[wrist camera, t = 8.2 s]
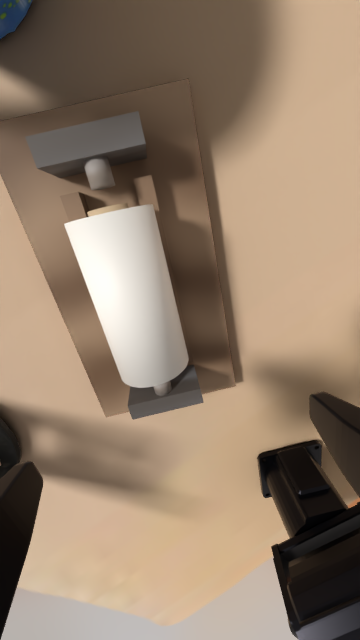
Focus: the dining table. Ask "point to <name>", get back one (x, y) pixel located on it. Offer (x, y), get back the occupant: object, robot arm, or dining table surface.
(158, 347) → the roll
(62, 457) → the dining table surface
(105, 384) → the cradle
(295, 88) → the dining table surface
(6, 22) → the snack cup
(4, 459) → the holder
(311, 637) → the robot arm
